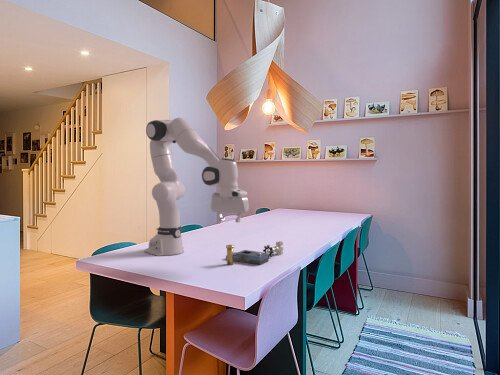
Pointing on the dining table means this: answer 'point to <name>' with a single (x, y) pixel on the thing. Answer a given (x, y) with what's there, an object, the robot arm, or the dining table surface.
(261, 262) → the gray block with recess
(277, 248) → the valve
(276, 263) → the dining table surface
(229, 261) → the brass pin
